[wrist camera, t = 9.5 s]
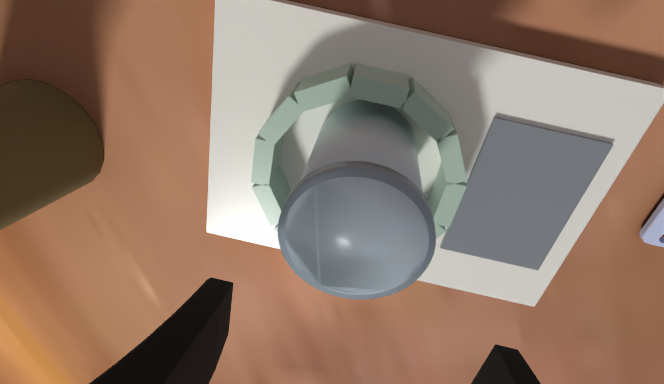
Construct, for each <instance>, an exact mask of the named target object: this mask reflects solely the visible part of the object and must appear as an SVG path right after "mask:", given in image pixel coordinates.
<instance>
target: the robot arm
mask: <svg viewBox="0 0 664 384" xmlns="http://www.w3.org/2000/svg"><path fill="white" fill-rule="evenodd" d="M662 235H664V199H663V200H662V201H661V203H660V204H659V206H658V207H657V208H656V210H655V211H654V212H653V214H652V215H651V217H650V218H649V219H648V221H647V222H646V223H645V225H644V226H643V228H642V229H641V231H640V237H641V238H642V239H643V241H644V242H645V243H648V244H651V245H656V246H660V247H664V237H662V238H660V237H661V236H662ZM232 291H233V283H232V282H228V281H223V280H219V279H215V278H210V279H208V280H206V281H205V282H204V284H203V285H202V286H201V287H200V288H199V289H198V290H197V291H196V292H195V293H194V294H193V295H192V296H191V297H190V298H189V299H188V300H187V301H186V302H185V303H184V304H183V305H182V306H181V307H180V308H179V309H178V310H177V311H176V312H175V313H174V314H173V315H172V316H171V317H169V318H168V319H167V320H166V321H165V322H164V323H163V324H162V325H161V326H160V327H158V328H157V329H156V330H155V331H154V332H153V333H152V334H151V335H150V336H148V337H147V338H146V339H145V340H144V341H143V342H141V343H140V344H139V345H138V346H137V347H135V348H134V349H133V350H132V351H130V352H129V353H128V354H127V355H126V356H124V357H123V358H122V359H121V360H120V361H118V362H117V363H116V364H115V365H113V366H112V367H111V368H109V369H108V370H107V371H105V372H104V373H103V374H102V375H100V376H99V377H98V378H96V379H95V380H93V381H92V382H91V383H89V384H209V382H210V379H211V377H212V375H213V373H214V371H215V369H216V366H217V363H218V361H219V358H220V355H221V353H222V350H223V347H224V344H225V341H226V339H227V336H228V332H229V321H230V311H231V301H232ZM471 384H540V382H539V381H538V379H537V378H536V376H535V375H534V373H533V372H532V370H531V369H530V367H529V366H528V364H527V363H526V361H525V360H524V358H523V357H522V355H521V354H520V352H519V351H518V350H516V349H512V348H508V347H504V346H500V345H495V346H494V348H493V349H492V351H491V352H490V354H489V356H488V357H487V359H486V361H485V362H484V364H483V365H482V367H481V369H480V370H479V372H478V373H477V375H476V377H475V378H474V380H473V382H472V383H471Z"/></svg>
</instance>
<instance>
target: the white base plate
mask: <svg viewBox="0 0 664 384" xmlns="http://www.w3.org/2000/svg"><path fill="white" fill-rule="evenodd" d="M360 100H365V101H370V102H374V103H379V104H383V105H388V106H391V107H393V108H395V109H396V110H398V111H399V112H400V113H401V114H402V115H403V116H404V117H405V118H406V119H407V121H408V122H409V124H410V125H411V128H412V130H413V132H414V136H415V141H416V148H417V155H418V162H419V169H420V176H421V183H422V190H423V195H424V196H425V198H426V199H427V201H428V203H429V206H430V208H431V211H432V215H433V219H434V225H435V232H436V246H435V251H434V255H433V257H432V260H431V262H430V264H429V265H428V267H427V269H426V270H425V271H424V273H423V274H422V275H421V276H420V277H419V278H418V279H417V280H419V281H423V282H428V283H432V284H437V285H441V286H445V287H450V288H454V289H459V290H463V291H467V292H472V293H476V294H481V295H485V296H489V297H494V298H498V299H503V300H507V301H511V302H516V303H520V304H525V305H529V306H533V307H535V305H536V304H537V302H538V300H539V299H540V297H541V296H542V294H543V292H544V291H545V289H546V288H547V286H548V285H549V283H550V281H551V280H552V278H553V277H554V275H555V274H556V272H557V270H558V269H559V267H560V266H561V264H562V262H563V261H564V259H565V258H566V256H567V255H568V253H569V251H570V250H571V248H572V247H573V245H574V244H575V242H576V240H577V239H578V237H579V236H580V234H581V232H582V231H583V229H584V228H585V226H586V225H587V223H588V221H589V220H590V218H591V217H592V215H593V214H594V212H595V210H596V209H597V207H598V206H599V204H600V203H601V201H602V199H603V198H604V196H605V195H606V193H607V191H608V190H609V188H610V187H611V185H612V184H613V182H614V180H615V179H616V177H617V176H618V174H619V173H620V171H621V169H622V168H623V166H624V165H625V163H626V161H627V160H628V158H629V157H630V155H631V154H632V152H633V150H634V149H635V147H636V146H637V144H638V143H639V141H640V139H641V138H642V136H643V135H644V133H645V131H646V130H647V128H648V127H649V125H650V124H651V122H652V120H653V119H654V117H655V116H656V114H657V113H658V111H659V109H660V108H661V106H662V105H663V103H664V86H662V85H660V84H658V83H654V82H650V81H646V80H641V79H637V78H632V77H628V76H623V75H619V74H614V73H610V72H605V71H601V70H596V69H592V68H588V67H583V66H579V65H574V64H570V63H565V62H561V61H556V60H552V59H547V58H543V57H538V56H534V55H530V54H525V53H521V52H516V51H512V50H507V49H503V48H498V47H494V46H489V45H485V44H480V43H476V42H472V41H467V40H463V39H458V38H454V37H449V36H445V35H440V34H436V33H431V32H427V31H422V30H418V29H414V28H409V27H405V26H400V25H396V24H391V23H387V22H382V21H378V20H373V19H369V18H364V17H360V16H356V15H351V14H347V13H342V12H338V11H333V10H329V9H324V8H320V7H315V6H311V5H306V4H302V3H298V2H293V1H289V0H215V22H214V49H213V75H212V101H211V127H210V153H209V179H208V205H207V231H206V232H208V233H212V234H217V235H221V236H225V237H230V238H234V239H239V240H243V241H247V242H252V243H256V244H261V245H265V246H269V247H274V248H278V249H280V246H279V241H278V221H279V217H280V214H281V211H282V209H283V206H284V204H285V201H286V199H287V197H288V195H289V193H290V192H291V191H292V189H293V188H294V186H295V185H296V184H297V183H298V182H299V181H300V180H301V178H302V176H303V173H304V170H305V168H306V165H307V163H308V160H309V158H310V155H311V153H312V150H313V147H314V145H315V142H316V140H317V137H318V135H319V132H320V129H321V127H322V125H323V123H324V122H325V120H326V119H327V118H328V117H329V116H330V114H331V113H333V112H334V111H335V110H336V109H338V108H339V107H341V106H343V105H345V104H347V103H351V102H354V101H360Z"/></svg>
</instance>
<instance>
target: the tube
mask: <svg viewBox="0 0 664 384" xmlns="http://www.w3.org/2000/svg"><path fill="white" fill-rule="evenodd" d="M278 241H279V246H280V249H281V252H282V254H283V256H284V258H285V260H286V261H287V263H288V264H289V266H290V267H291V268H292V269H293V271H294V272H295V273H296V274H297V275H298V276H299V277H300V278H302V279H303V280H304V281H305V282H307V283H308V284H310V285H311V286H313V287H315V288H317V289H318V290H321V291H323V292H325V293H328V294H331V295H334V296H338V297H342V298H349V299H374V298H380V297H384V296H388V295H391V294H394V293H396V292H399V291H401V290H403V289H404V288H406V287H408V286H409V285H411V284H412V283H414V282H415V281H416V280H417V279H418V278H419V277H420V276H421V275H422V274H423V273H424V271H425V270H426V269H427V267H428V265H429V264H430V262H431V260H432V257H433V255H434V251H435V246H436V232H435V225H434V219H433V215H432V211H431V208H430V206H429V203H428V201H427V199H426V198H425V196H424V195H423V190H422V183H421V176H420V169H419V162H418V155H417V148H416V141H415V136H414V132H413V130H412V128H411V125H410V124H409V122H408V121H407V119H406V118H405V117H404V116H403V115H402V114H401V113H400V112H399V111H398V110H396V109H395V108H393V107H391V106H388V105H383V104H379V103H374V102H370V101H365V100H360V101H354V102H351V103H347V104H345V105H343V106H341V107H339V108H338V109H336V110H335V111H334V112H333V113H331V114H330V116H329V117H328V118H327V119H326V120H325V122H324V123H323V125H322V127H321V129H320V132H319V135H318V137H317V140H316V142H315V145H314V147H313V150H312V153H311V155H310V158H309V160H308V163H307V165H306V168H305V170H304V173H303V176H302V178H301V180H300V181H299V182H298V183H297V184H296V185H295V186H294V188H293V189H292V191H291V192H290V193H289V195H288V197H287V199H286V201H285V204H284V206H283V209H282V211H281V214H280V217H279V221H278Z"/></svg>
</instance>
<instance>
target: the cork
mask: <svg viewBox="0 0 664 384" xmlns="http://www.w3.org/2000/svg"><path fill="white" fill-rule="evenodd" d="M103 161H104V152H103V142H102V140H101V138H100V135H99V133H98V130H97V128H96V125H95V124H94V123H93V121H92V120H91V119H90V117H89V116H88V114H87V113H86V112H85V110H84V109H83V108H82V107H81V106H80V105H79V104H77V103H76V102H75V101H74V100H73V99H72V98H70V97H69V96H68V95H67V94H65V93H64V92H62V91H60V90H58V89H56V88H54V87H52V86H51V85H49V84H46V83H42V82H37V81H33V80H29V79H27V80H16V81H11V82H9V83H7V84H5V85H3V86H2V87H0V230H1V229H3V228H5V227H7V226H9V225H11V224H12V223H14V222H16V221H18V220H20V219H22V218H24V217H26V216H28V215H29V214H31V213H33V212H35V211H37V210H39V209H41V208H43V207H44V206H46V205H48V204H50V203H52V202H54V201H56V200H58V199H60V198H61V197H63V196H65V195H67V194H69V193H71V192H73V191H75V190H77V189H78V188H80V187H82V186H84V185H86V184H88V183H90V182H92V180H93V179H94V178H95V177H96V176H97V175H98V174H99V173H100V171H101V167H102V164H103Z"/></svg>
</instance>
